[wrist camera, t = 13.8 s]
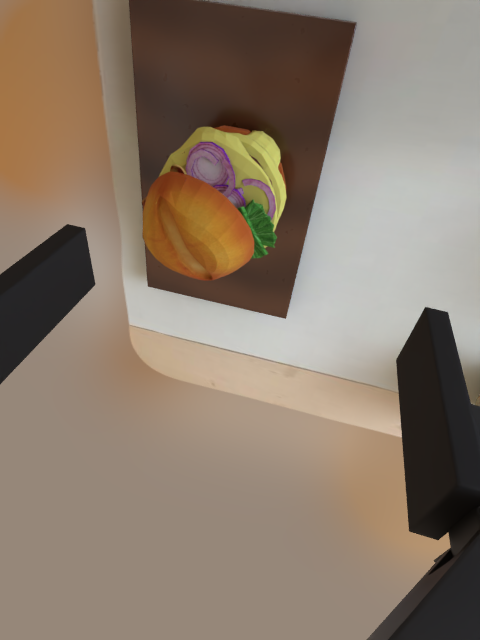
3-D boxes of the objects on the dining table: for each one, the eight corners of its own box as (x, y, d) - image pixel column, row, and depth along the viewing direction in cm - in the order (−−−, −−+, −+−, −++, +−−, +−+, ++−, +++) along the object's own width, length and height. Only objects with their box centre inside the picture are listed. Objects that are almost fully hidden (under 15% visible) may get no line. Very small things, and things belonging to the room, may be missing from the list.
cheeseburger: (325, 182, 30) (287, 266, 24) (246, 247, 38) (203, 321, 32) (227, 79, 27) (156, 146, 21) (164, 174, 35) (101, 240, 29)
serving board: (139, -9, 26) (128, -10, 25) (356, 22, 25) (356, 23, 23) (154, 277, 42) (147, 286, 41) (288, 308, 40) (285, 318, 39)
